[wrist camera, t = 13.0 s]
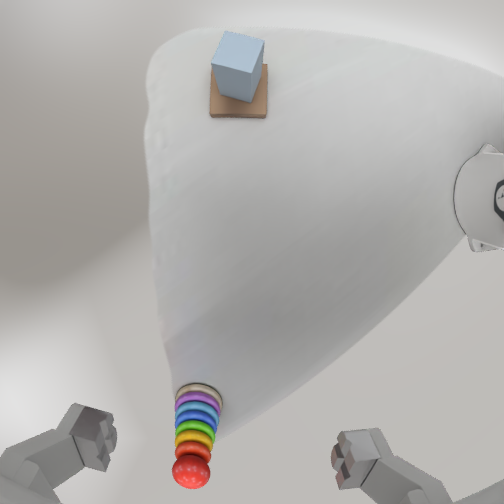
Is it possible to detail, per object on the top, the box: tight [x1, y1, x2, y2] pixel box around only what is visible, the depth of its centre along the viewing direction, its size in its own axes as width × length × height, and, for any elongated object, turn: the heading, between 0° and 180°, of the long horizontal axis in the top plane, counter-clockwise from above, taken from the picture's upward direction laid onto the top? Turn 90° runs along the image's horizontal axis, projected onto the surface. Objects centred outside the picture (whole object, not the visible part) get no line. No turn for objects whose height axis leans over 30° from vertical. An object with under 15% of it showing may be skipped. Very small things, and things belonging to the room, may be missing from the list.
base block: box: [210, 64, 267, 118], centre depth 37 cm, size 7×7×3 cm
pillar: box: [211, 31, 265, 103], centre depth 30 cm, size 4×4×10 cm
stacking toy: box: [172, 384, 222, 489], centre depth 40 cm, size 8×8×19 cm
